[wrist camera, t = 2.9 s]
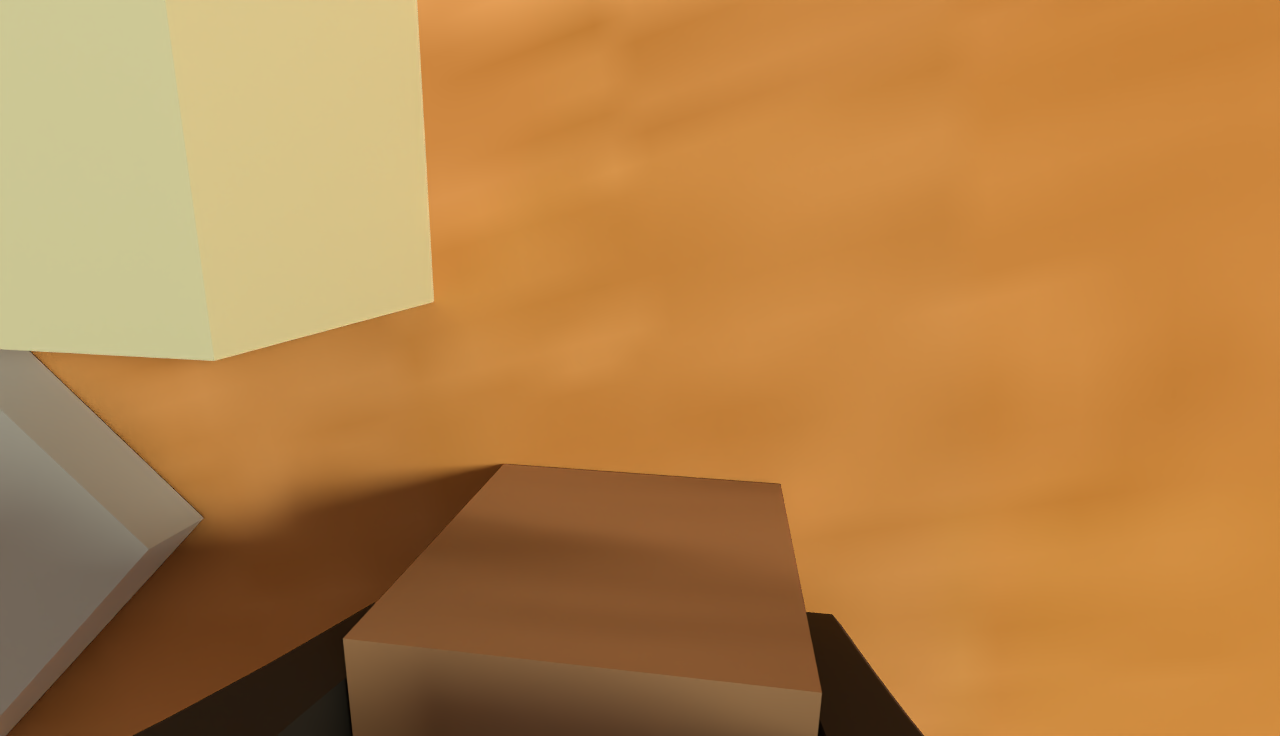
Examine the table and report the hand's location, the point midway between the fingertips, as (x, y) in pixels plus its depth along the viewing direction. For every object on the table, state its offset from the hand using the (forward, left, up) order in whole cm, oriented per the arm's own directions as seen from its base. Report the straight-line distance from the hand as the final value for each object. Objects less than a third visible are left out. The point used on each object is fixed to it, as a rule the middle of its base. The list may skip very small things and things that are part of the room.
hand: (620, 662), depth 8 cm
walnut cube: (0, 0, -1) cm, 1 cm away
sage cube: (+1, +8, -2) cm, 8 cm away
